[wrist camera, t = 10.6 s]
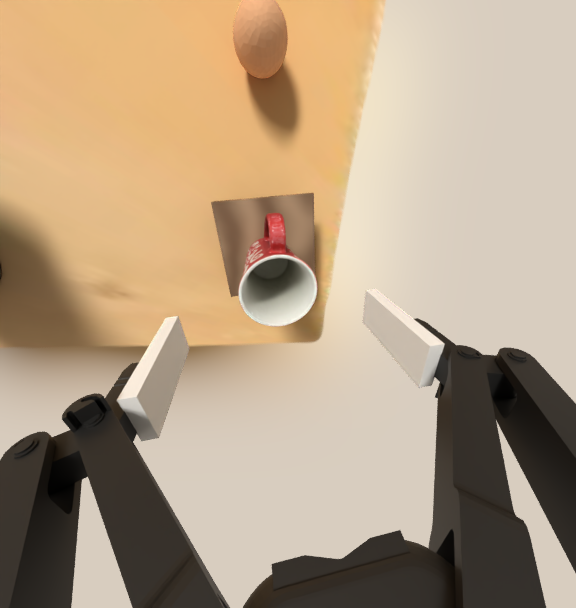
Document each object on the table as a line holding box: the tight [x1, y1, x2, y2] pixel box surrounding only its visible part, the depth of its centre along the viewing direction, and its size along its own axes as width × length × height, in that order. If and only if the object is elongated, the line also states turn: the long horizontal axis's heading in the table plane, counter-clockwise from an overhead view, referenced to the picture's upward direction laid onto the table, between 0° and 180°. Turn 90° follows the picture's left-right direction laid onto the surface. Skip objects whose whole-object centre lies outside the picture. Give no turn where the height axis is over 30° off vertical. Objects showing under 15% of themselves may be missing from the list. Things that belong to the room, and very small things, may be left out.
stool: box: [211, 193, 315, 297], centre depth 40 cm, size 15×15×8 cm
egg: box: [233, 0, 288, 79], centre depth 28 cm, size 7×7×9 cm
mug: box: [238, 213, 318, 326], centre depth 31 cm, size 13×9×14 cm
